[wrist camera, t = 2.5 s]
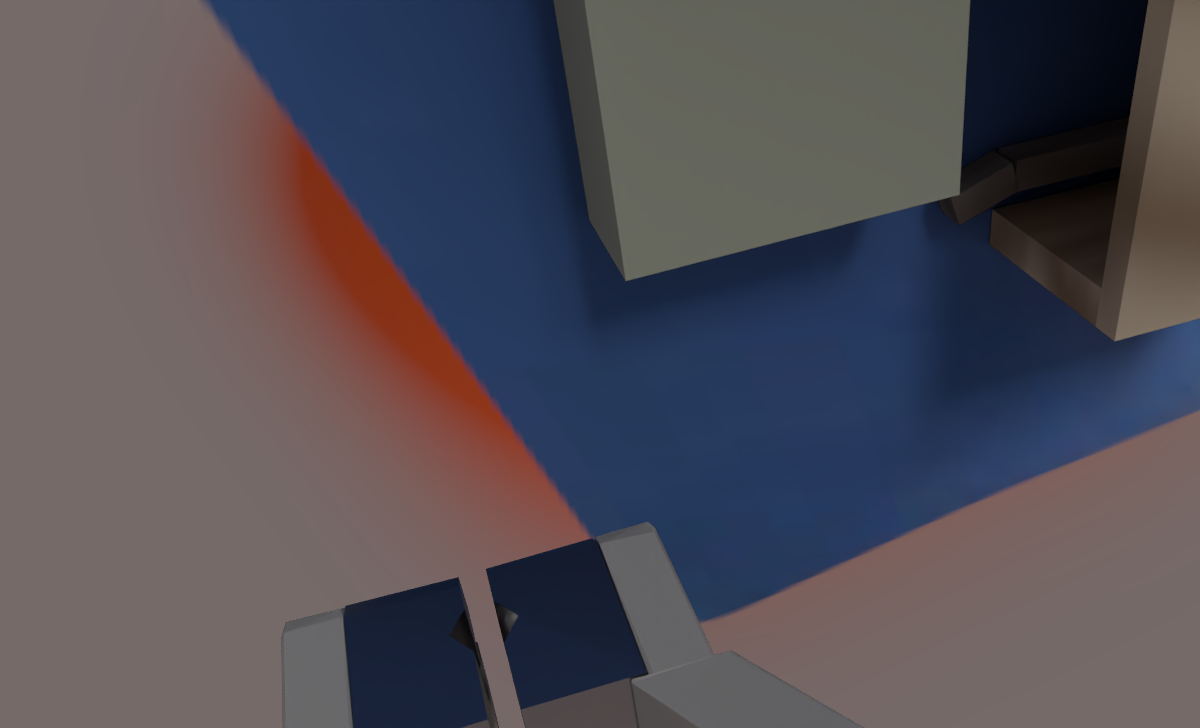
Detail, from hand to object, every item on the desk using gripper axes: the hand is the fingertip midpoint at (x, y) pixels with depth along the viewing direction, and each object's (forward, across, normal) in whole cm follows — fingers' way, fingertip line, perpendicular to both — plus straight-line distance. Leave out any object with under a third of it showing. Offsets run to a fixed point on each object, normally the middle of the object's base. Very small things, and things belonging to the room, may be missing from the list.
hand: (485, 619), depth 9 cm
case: (+20, -10, 0) cm, 22 cm away
